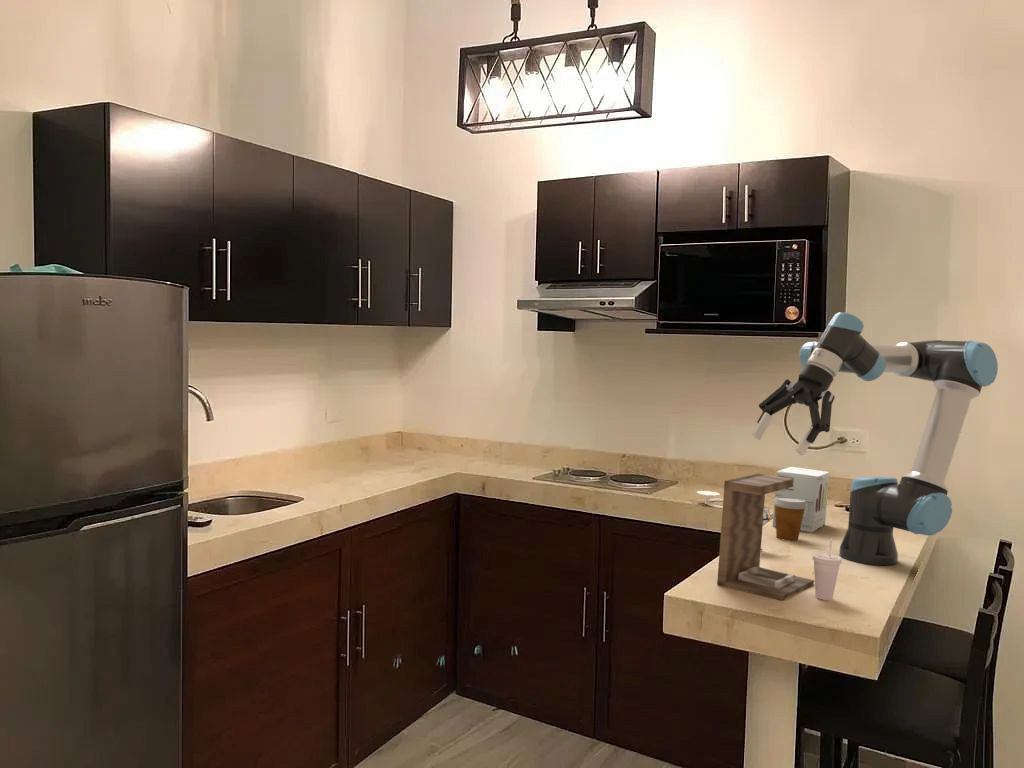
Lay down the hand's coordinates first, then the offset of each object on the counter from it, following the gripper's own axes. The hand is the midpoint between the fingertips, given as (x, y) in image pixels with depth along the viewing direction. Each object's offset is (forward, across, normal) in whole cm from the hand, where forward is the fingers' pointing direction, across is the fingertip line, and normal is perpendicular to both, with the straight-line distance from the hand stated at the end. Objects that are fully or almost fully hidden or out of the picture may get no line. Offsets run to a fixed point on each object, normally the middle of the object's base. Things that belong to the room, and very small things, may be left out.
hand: (776, 444), depth 210 cm
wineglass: (+21, -21, +39) cm, 49 cm away
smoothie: (+26, +19, +18) cm, 37 cm away
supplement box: (+4, -40, +77) cm, 86 cm away
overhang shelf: (+30, +6, +15) cm, 34 cm away
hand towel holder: (+8, -73, +80) cm, 108 cm away
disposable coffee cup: (+12, -28, +58) cm, 66 cm away
